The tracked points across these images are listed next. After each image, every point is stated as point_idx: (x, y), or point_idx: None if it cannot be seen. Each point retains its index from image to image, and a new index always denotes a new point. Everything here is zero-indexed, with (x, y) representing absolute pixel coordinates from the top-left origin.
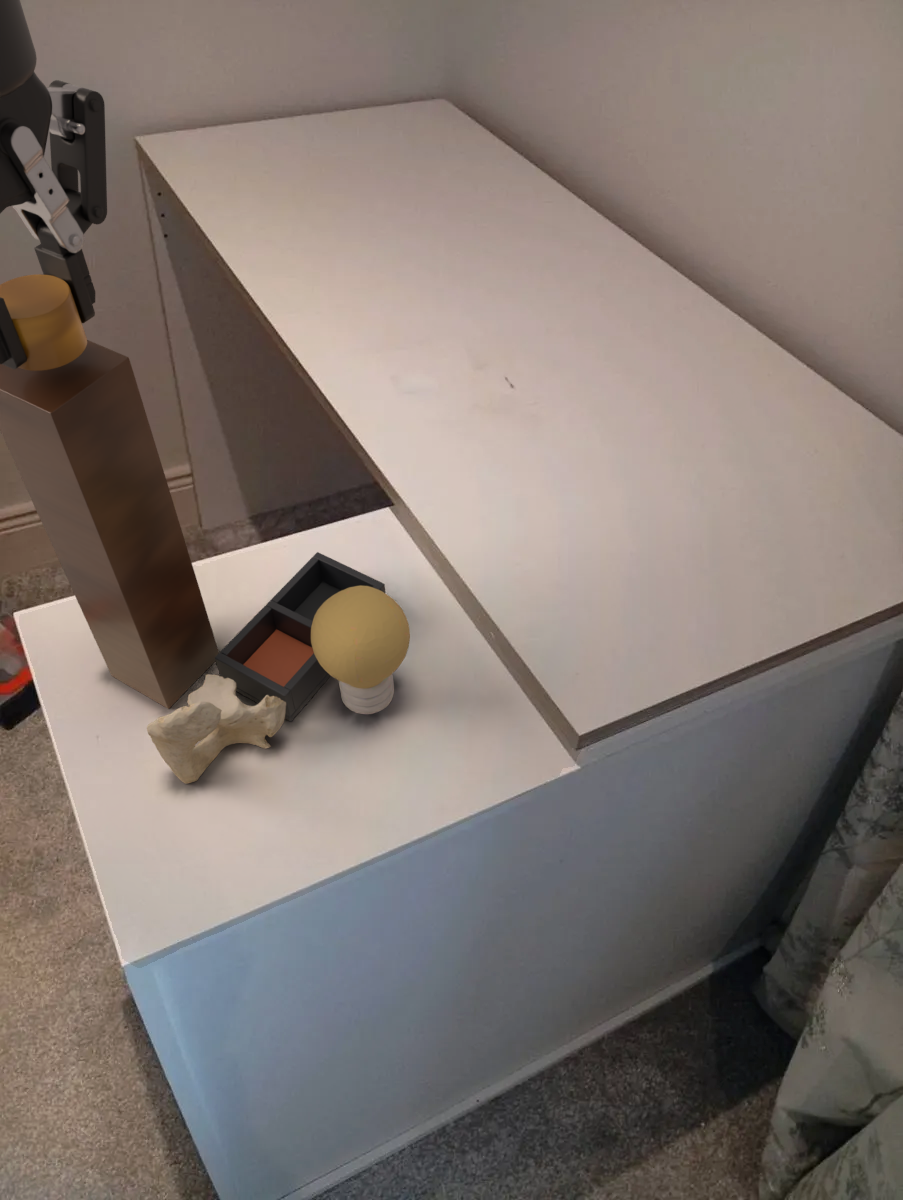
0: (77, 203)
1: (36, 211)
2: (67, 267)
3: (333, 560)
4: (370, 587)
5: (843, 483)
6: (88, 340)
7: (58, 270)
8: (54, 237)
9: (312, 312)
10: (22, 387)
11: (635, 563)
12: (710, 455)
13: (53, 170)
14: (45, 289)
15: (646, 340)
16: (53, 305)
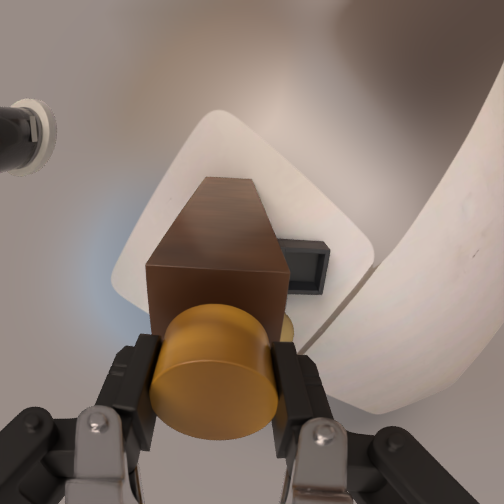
0: (361, 488)
1: None
2: (275, 448)
3: (327, 262)
4: (288, 340)
5: (429, 386)
6: (281, 326)
7: (277, 424)
8: (290, 474)
9: (496, 122)
10: (166, 325)
11: (378, 356)
12: (441, 348)
13: (408, 493)
14: (239, 415)
15: (500, 293)
16: (215, 437)
